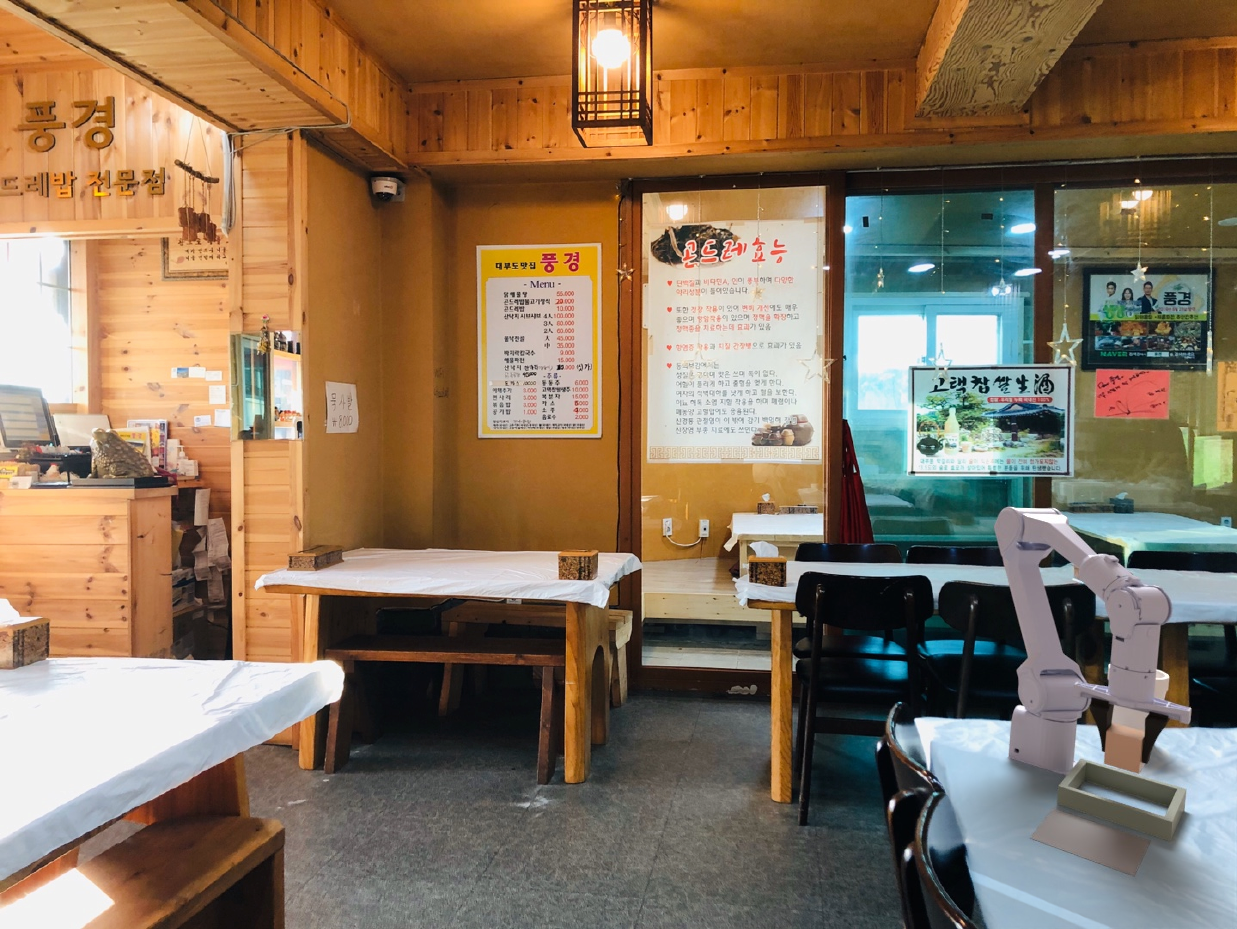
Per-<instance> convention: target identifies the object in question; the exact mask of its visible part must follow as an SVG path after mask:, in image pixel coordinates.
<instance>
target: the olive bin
mask: <svg viewBox="0 0 1237 929" xmlns="http://www.w3.org/2000/svg"><path fill="white" fill-rule="evenodd" d="M1083 782H1086V783H1090V784H1091V785H1092V784H1093V785H1096V786H1099V787H1103V788H1106V789H1108V790H1113V791H1115V792H1119V793H1122V794H1126V795H1129V796H1131V797H1132V796H1133V797H1135V798H1138V799H1142V800H1145V801H1148V802H1151V803H1154V804H1157V805H1161V806H1165V807H1168V808H1167V811H1166V813H1165V815H1160V814H1157V813H1154V812H1151V811H1147V810H1144V809H1142V808H1137V807H1135V806H1132V805H1128V804H1126V803H1122V802H1119V801H1117V800H1116V801H1115V800H1113V799H1109V798H1107V797H1103V796H1100V795H1097V794H1095V793H1094V794H1093V793H1090V792H1088V791H1084V790H1081V789H1079V787H1080V786H1081V785H1082V783H1083ZM1056 796H1057V797H1056V798H1057V799H1056V804H1057V805H1059V806H1063V807H1066V808H1069V809H1072V810H1074V811H1076V812H1077V811H1078V812H1081V813H1084V814H1087V815H1090V816H1092V817H1096V818H1098V819H1102V820H1105V821H1108V822H1111V823H1113V824H1117V825H1120V826H1122V827H1125V828H1129V829H1132V830H1136V831H1138V832H1140V833H1144V834H1147V835H1150V836H1153V837H1156V838H1159V839H1161V840H1165V841H1169V842H1171V841H1172V839H1173V837H1174V834H1175V832H1176V829H1177V827H1178V824H1179V823H1180V820H1181V818H1182V815H1183V813H1184V812H1185V808H1186V799H1187V788H1183V787H1180V786H1177V785H1173V784H1170V783H1166V782H1163V781H1160V780H1157V779H1153V778H1149V777H1146V776H1143V775H1139V774H1137V773H1134V772H1130V771H1127V770H1124V769H1120V768H1117V767H1113V766H1110V765H1106V764H1102V763H1098V762H1094V761H1091V760H1087V759H1084V758H1080V759H1079V760H1078V761H1077V764H1076V765H1075V766H1074V767H1073V768H1072V770H1071V771H1070V772H1069V773H1068V775H1067V776H1066V775H1065V777H1064V779H1062V781H1060V783H1059V784H1058V786H1057V795H1056Z"/></svg>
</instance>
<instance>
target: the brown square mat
mask: <svg viewBox="0 0 1237 929" xmlns="http://www.w3.org/2000/svg"><path fill="white" fill-rule="evenodd" d="M1029 839H1031V840H1033V841H1037V842H1039V843H1042V844H1044V845H1047V846H1050V847H1053V848H1055V849H1057V850H1061V851H1063V852H1066V853H1069V854H1072V855H1074V856H1077V857H1079V858H1083V859H1085V860H1088V861H1091V862H1093V863H1095V864H1096V863H1097V864H1099V865H1102V866H1104V867H1107V868H1109V869H1112V870H1115V871H1117V872H1118V871H1119V872H1121V873H1123V874H1127V875H1129V876H1131V877H1135V875H1136V873H1137V871H1138V869H1139V867H1140V865H1141V863H1142V861H1143V858H1144V856H1145V854H1146V852H1147V850H1148V847H1149V845H1150V843H1151V840H1150V839H1146V838H1144V837H1141V836H1137V835H1135V834H1132V833H1130V832H1126V831H1123V830H1119V829H1116V828H1114V827H1111V826H1108V825H1105V824H1103V823H1099V822H1096V821H1094V820H1091V819H1087V818H1085V817H1081V816H1079V815H1075V814H1072V813H1069V812H1067V811H1064V810H1061V809H1057V808H1055V807H1053V808H1052V809H1051V810H1050V811H1049V813H1048V814H1047V816H1046V817H1045V818H1044V819H1043V821H1042V822H1041V823H1040V824H1039V825H1038V827H1037V828H1036V830H1035V831H1034V832H1033V833H1032V835H1031V836H1030V837H1029Z"/></svg>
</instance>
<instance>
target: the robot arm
mask: <svg viewBox="0 0 1237 929" xmlns="http://www.w3.org/2000/svg"><path fill="white" fill-rule="evenodd" d="M993 529H994V533H995V537H996V540H997V545H998V549H999V553H1000V556H1001V557H1002V562H1003V566H1004V567H1003V568H1004V570H1005V574H1006V577H1007V578H1006V579H1007V582H1008V585H1009V589H1010V592H1011V597H1012V601H1013V604H1014V607H1015V608H1014V609H1015V612H1016V616H1017V620H1018V624H1019V627H1020V631H1021V634H1022V639H1023V642H1024V646H1025V649H1026V650H1025V651H1026V654H1027V658H1026V659H1025V660H1024V662H1022V664H1020V666H1019V667H1018V668H1017V669H1016V674H1017V677H1018V688H1017V689H1018V690H1017V693H1018V698H1019V700H1020V702H1021V704H1022V705H1021V704H1018V705H1016V706H1015V708H1014V710H1013V713H1012V716H1011V717H1012V718H1011V721H1010V722H1011V723H1010V733H1009V742H1008V743H1009V744H1008V756H1007V758H1009V759H1012V760H1015V761H1018V762H1021V763H1023V764H1024V763H1025V764H1028V765H1031V766H1034V767H1038V768H1041V769H1043V770H1048V771H1050V772H1054V773H1057V774H1060V775H1062V776H1063V775H1064V776H1065V777H1066V776H1067V775H1068V773H1069V772H1070V771H1071V770H1072V768H1073V767H1074V766H1075V765H1076V764H1077V762H1078V761H1077V760H1075V749H1076V741H1077V740H1076V736H1077V727H1078V726H1077V725H1078V724H1077V723H1078V719H1080V718H1082V714H1083V712H1085V711H1087V710H1088V709H1089V711H1090V713H1091V716H1092V717H1093V720H1094V722H1095V724H1096V727H1097V730H1098V734H1099V737H1100V738H1099V739H1100V744H1101V752H1102V753H1105V744H1106V732H1107V730H1108V729H1109V727H1110V726H1111V725H1112V716H1113V709H1114V705H1117V706H1121V707H1125V708H1129V709H1133V710H1137V711H1141V712H1145V713H1149V715H1148V716H1147V717H1146V718H1145V737H1144V747H1143V752H1142V763H1144V765H1148V763H1149V762H1150V760H1151V759H1150V758H1151V754H1152V751H1153V748H1154V745H1155V744H1156V741H1157V740H1158V737H1159V735H1161V733H1162V731H1164V730H1165V727H1166V726H1167V725H1168V723H1169V721H1170V720H1174V721H1179V723H1182V724H1185V725H1190V723H1191V716H1192V708H1191V707H1188V706H1185V705H1181V704H1177V703H1174V702H1171V701H1169V700H1165V699H1164V700H1162V699H1159V698H1156V697H1154V692H1155V681H1156V670H1158V659H1159V658H1158V657H1159V647H1160V637H1161V636H1160V635H1161V626H1163V625H1165V624H1166V623H1168V622H1169V621H1170V619H1171V617H1172V614H1173V604H1172V600H1171V598H1170V596H1169V595H1168V594H1167V592H1166V591H1165V590H1164V589H1163V588H1162V587H1161V586H1158V585H1149V584H1146V582H1142V581H1141V579H1140V578H1139V577H1138V576H1137V575H1133V573H1131V572H1130V571H1128V570H1127V569H1126V567H1124V566H1123V565H1121V563H1119V561H1120V559H1119V558H1117V557H1116V556H1115V555H1109V554H1107V553H1098V554H1097V552H1095V550H1093V549H1092V548H1091V546H1089V545H1088V543H1086V541H1084V539H1083V538H1081V536H1079V535H1078V533H1076V532H1075V531H1074V530H1073V529H1072V527H1070V524H1069V518H1068V516H1065V515H1064V514H1063V513H1062V512H1061V511H1060V510H1058V509H1056V508H1055V507H1047V508H1031V507H1030V508H1028V507H1013V506H1007V507H1004V508H1003V509H1001V511H999V513H998V515H997V519H996V521H995V523H994V526H993ZM1053 550H1054V551H1055V552H1057V553H1058V554H1060V555H1061V556H1062V557H1064V558H1065V559H1066V560H1067V561H1069V562H1070V563H1071V564H1072V565H1073V566H1074V567H1076V568H1077V569H1078V577H1079V579H1080V580H1079V581H1081V582H1082V583H1083V584H1084V585H1085V586H1087V587H1088V589H1090V590H1091V592H1093V593H1094V594H1095V595H1096V597H1098V598H1100V600H1102V602H1103V603H1104V607H1105V612H1106V614H1107V616H1108V619H1109V630H1110V632H1111V634H1112V640H1111V642H1112V643H1111V653H1110V654H1111V655H1110V663H1109V664H1110V673H1109V680H1108V686H1107V685H1106V686H1105V685H1100V684H1092V683H1088V682H1087V680H1086V679H1085V677H1084V675H1083V674H1082V672H1081V669H1080V665H1079V664H1078V663H1076V662H1075V661H1074V660H1073V659H1071V658H1070V657H1068V656H1067V655H1065V653H1063V650H1062V649H1063V648H1062V645H1061V642H1060V638H1059V634H1058V631H1057V627H1056V624H1055V620H1054V616H1053V613H1052V610H1051V606H1050V603H1049V598H1048V595H1047V591H1046V588H1045V585H1044V581H1043V577H1042V574H1041V570H1040V567H1039V566H1040V565H1039V564H1040V563H1041V561H1042V560H1043V559H1046V558H1047V557H1048V556H1049V554H1050V553H1051V552H1052V551H1053Z"/></svg>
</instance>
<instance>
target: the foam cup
mask: <svg viewBox="0 0 1237 929" xmlns="http://www.w3.org/2000/svg"><path fill="white" fill-rule="evenodd" d="M1107 669H1108V670H1107V680H1108V681H1109V673H1110V663H1109V664H1108V668H1107ZM1169 684H1170V676H1169V674H1168V673H1166V672H1165V671H1163V670H1160V669H1157V670H1156V681H1155V692H1154V697H1156V698H1159V699H1162V700H1165V698H1166V694H1167V692H1168V691H1169ZM1148 715H1149V713H1145V712H1141V711H1137V710H1133V709H1129V708H1125V707H1121V706H1117V705H1114V709H1113V716H1112V723H1111V725H1112V724H1113V723H1114V724H1118V725H1122V726H1126V727H1130V728H1134V729H1138V730H1141V731H1145V718H1146V717H1147V716H1148Z"/></svg>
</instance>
